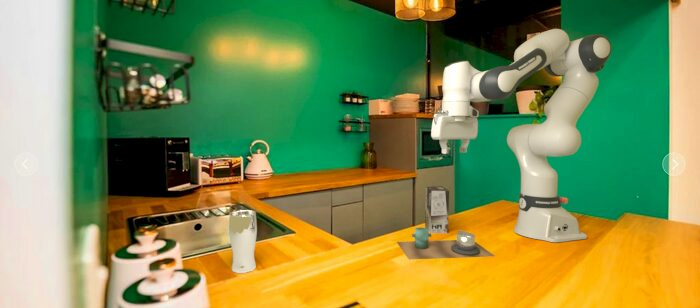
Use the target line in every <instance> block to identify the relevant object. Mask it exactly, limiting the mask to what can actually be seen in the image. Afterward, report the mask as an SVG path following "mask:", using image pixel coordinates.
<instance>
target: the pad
mask: <svg viewBox="0 0 700 308" xmlns="http://www.w3.org/2000/svg"><path fill="white" fill-rule="evenodd" d="M451 250H452V251H453V252H455V253H457V254H461V255H468V256H473V255H478V254H479V253H480V249H479V248H477V247H475V249H474V251H461V250H459V249H457V244H454V245H452V246H451Z"/></svg>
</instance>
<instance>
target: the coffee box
mask: <svg viewBox="0 0 700 308" xmlns="http://www.w3.org/2000/svg"><path fill="white" fill-rule="evenodd" d="M449 205H450V190H449V189H447V188H445V187H444V186H439V185H438V186H436V185H435V186H425V209H424V210H425V212H424V214H425V216H424V217H425V219H424V220H425V221H424V224H425V225H424V228H427V229H428V230H429V233H431V234H448V233H449V209H450V206H449Z"/></svg>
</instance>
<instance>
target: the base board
mask: <svg viewBox="0 0 700 308" xmlns="http://www.w3.org/2000/svg"><path fill="white" fill-rule="evenodd" d="M411 237H412V238H414V241H396V243H397V245H398V246H399V248H400V249H401V250H402V252H403V253H404V255H405V256H406V257H407V259H408V260H431V259H455V258H456V259H457V258H458V259H459V258H481V257H482V258H483V257H484V258H486V257H487V258H488V257H495V255H494V254H493V253H492V252H490V251H489V250H487V249H486V248H484V246H482V245H481V244H479V243H477V242H476V241H475V247H477V248H479V249H480V253H479V254H478V255H473V256H468V255H461V254H457V253H455V252H453V251H452V250H451V246H452V245H454V244H457V239H447V240H446V239H445V240H444V239H443V240H429V238H432V233H430V232H429V230H428V229H427V228H425V227H415V228H414V233H412V234H411Z"/></svg>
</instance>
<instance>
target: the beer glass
mask: <svg viewBox="0 0 700 308" xmlns="http://www.w3.org/2000/svg"><path fill="white" fill-rule="evenodd" d="M256 214H257V212H256V211H255V210H252V209H240V210H239V209H238V210H233V211H231V212H229V221H228V231H229V232H228V234H229V241H230V246H231V250H232V264H231V271H232V272H233V273H235V274H246V273H247V274H248V273H250V272H253V271H254V270H255V269H256V267H257V265H256V260H255V249H256V243H257V242H256V241H257V234H258V225H257V224H258V223H257V215H256Z"/></svg>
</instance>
